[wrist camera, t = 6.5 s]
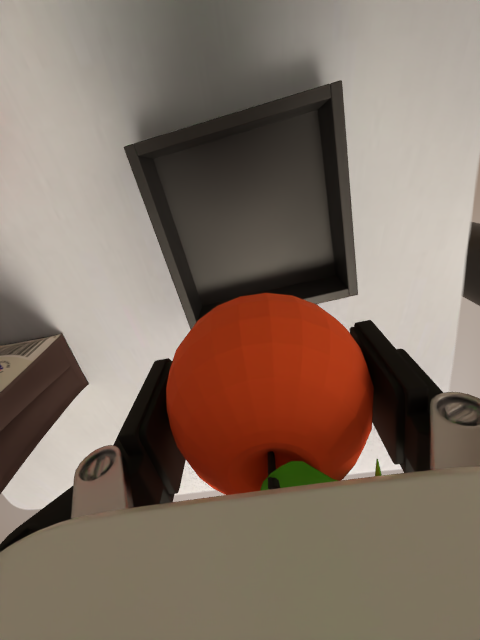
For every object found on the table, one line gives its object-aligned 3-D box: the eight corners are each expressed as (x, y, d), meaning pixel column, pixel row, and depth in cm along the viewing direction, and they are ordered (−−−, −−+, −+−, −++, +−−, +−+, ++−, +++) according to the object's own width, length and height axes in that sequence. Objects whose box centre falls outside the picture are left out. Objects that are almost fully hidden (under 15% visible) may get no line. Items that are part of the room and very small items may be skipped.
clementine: (390, 325, 13) (531, 471, 6) (302, 425, 16) (340, 596, 9) (230, 236, 11) (207, 312, 5) (164, 364, 14) (95, 520, 8)
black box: (324, 97, 23) (342, 79, 19) (341, 278, 30) (358, 294, 26) (143, 151, 25) (123, 146, 21) (198, 310, 32) (191, 331, 28)
